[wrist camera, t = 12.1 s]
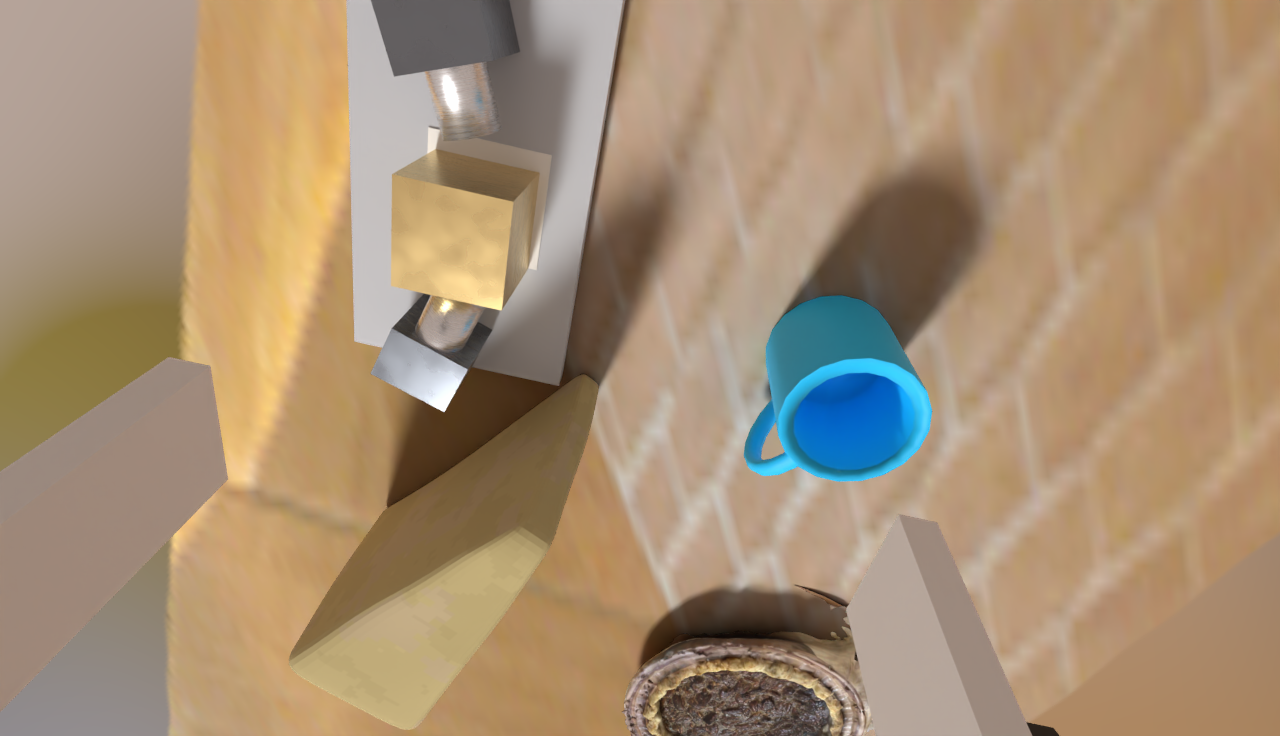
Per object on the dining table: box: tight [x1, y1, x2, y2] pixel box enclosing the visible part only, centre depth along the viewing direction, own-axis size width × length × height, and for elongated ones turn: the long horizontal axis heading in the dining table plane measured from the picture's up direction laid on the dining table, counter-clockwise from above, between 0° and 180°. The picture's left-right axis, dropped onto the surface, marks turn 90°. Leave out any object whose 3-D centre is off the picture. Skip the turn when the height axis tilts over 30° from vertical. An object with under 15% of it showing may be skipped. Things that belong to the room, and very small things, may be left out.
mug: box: [744, 295, 932, 481], centre depth 40 cm, size 12×8×8 cm
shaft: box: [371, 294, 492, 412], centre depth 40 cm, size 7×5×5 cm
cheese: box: [289, 374, 599, 730], centre depth 43 cm, size 22×10×15 cm, turn 139°
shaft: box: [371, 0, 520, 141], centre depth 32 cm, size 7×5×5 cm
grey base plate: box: [347, 0, 625, 386], centre depth 38 cm, size 24×14×1 cm, turn 169°
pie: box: [622, 585, 874, 736], centre depth 59 cm, size 28×27×5 cm
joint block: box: [391, 149, 540, 311], centre depth 36 cm, size 6×6×6 cm
